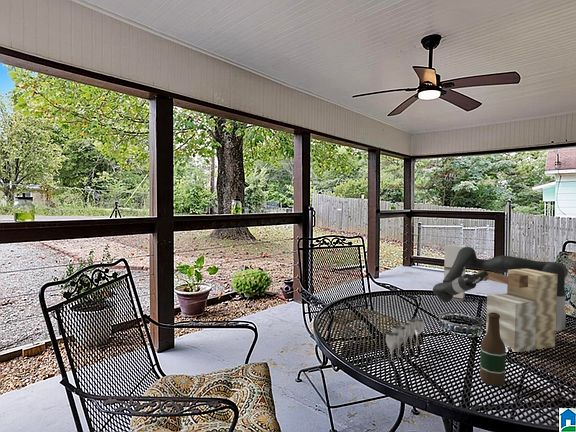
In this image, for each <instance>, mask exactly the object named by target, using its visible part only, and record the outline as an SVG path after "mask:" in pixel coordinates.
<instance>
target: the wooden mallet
mask: <svg viewBox="0 0 576 432" xmlns="http://www.w3.org/2000/svg"><path fill="white" fill-rule="evenodd" d="M477 271H478V272H477V273H481V272H483V271H484V269H480V270H477ZM486 271H487V270H486ZM488 271H489V270H488ZM488 271H487V274H488V275H487V276H485V277H482V278H484V279H488V280H487V281H493V282H497V283H501V284H504V285H507V284H508V285H510V286H514V287H518V288H524V287H528V275H524V274H519V273H513V274H509V276H508V275H504V274H501V273H497V272H496V273H495V272H493V273H492V272H488Z"/></svg>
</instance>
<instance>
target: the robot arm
mask: <svg viewBox="0 0 576 432" xmlns="http://www.w3.org/2000/svg"><path fill="white" fill-rule="evenodd" d="M464 267H466V268H468V269H476V270H477V269H479V270H483V272H481V273H478V272H477V273H472V274H470V273H465V275H463V276H462V273H463V269H464ZM512 269H532V270H538V271H543V272H548V273H554V274H558V279H557V305H556V331H555V332H563V331H562V330H564V331H565V330H566V317H567V316H566V312H567V310H566V289H565V284H566V283H565V282H566V281H565V279H566V277H567V276H568V274H569V270H568V268H567V266H566V265H565V264H563V263H561V262H557V261H541V260H531V259H527V258H522V257H516V256H511V255H501V254H500V255H497V256H494V257H491V258H489V259H488V258H487V259H483V258H478V257H477V253H476V251H475V248H473V247H471V246H466V247H464V248H462V249H460V251H459V252H458V255H457V257H456V259H455V262H454V264H453V266H452V268H451V269H450V271H449V273H448V274H447V275H446V277H445V278H444V277H443V279H442V282H439V283H437V284H435V285H434V286H433V288H432V293H434V295H435V296H436V297H438V298H439V300H441V302H443V303H449V302H451V301H452V300H451V299H452V298H453V295H457V294H459V293H462V292H469V291H471V290H473V289H475V288H476V287H477V284H479V283H481V282H486V281H489V280H488V279H484V278H482V277H485V276H487V275H488V274H487V270H488V272H492V273H494V272H493V271H496V272H502V273H506V274H508V270H512Z"/></svg>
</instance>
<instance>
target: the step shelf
mask: <svg viewBox="0 0 576 432" xmlns="http://www.w3.org/2000/svg"><path fill="white" fill-rule="evenodd" d="M513 273H519V274H524V275H528V287H524V288H518V287H514V286H510V285H508V284H506V285H507V286H506V289H507V291H506V293H497V294H487V296H486V318H485V319H486V323H485V325H486V326H485V335H486V334H487V330H488V320H489V316H488V314H489V313H491V312H493V313H498V314H499V315H500V318H499V326H500V338H501V339H502V341H503V343H504V345H507V346H509V347H511V349H512V351H513V352H520V353H525V351H526V352H531V351H530V350H532V351H536V350H535V349H538V350H542V349H543V348H544V349H549V348H555V347H556V332H557V331H556V305H557V279H558V274H554V273H548V272H543V271H538V270H532V269H512V270H508V273H507V276H509V274H513Z"/></svg>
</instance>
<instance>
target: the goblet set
mask: <svg viewBox="0 0 576 432" xmlns="http://www.w3.org/2000/svg"><path fill="white" fill-rule="evenodd" d="M424 322H425V321H424V320H423V319H421V318H417V317H416V318H415V317H414V318H411V319H408V320H407V322H404V321H403V322H401V324H400V325H399V324H398V325H394V326H392V329H391V331H389V332H386V335H385V343H386V346H387V347H388V349H389V351H390V362H391V361H392V362H393V360H392V358H393V354H394V350H395V349H396V348H397V357H399V358H400V347H401V345H402V344H403V343H404V349H406V345H407V341H408V339H409V338H410V348H411V347H412V346H413V345H412V341H413V336H414V334H415V337H416V340H415V341H416V342H415V343H416V344H415V345H416V346H418V339H419V335H420V334H421V333H422V332H423V331H424V330H425V323H424ZM403 352H404V353H405V354H406V351H403Z"/></svg>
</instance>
